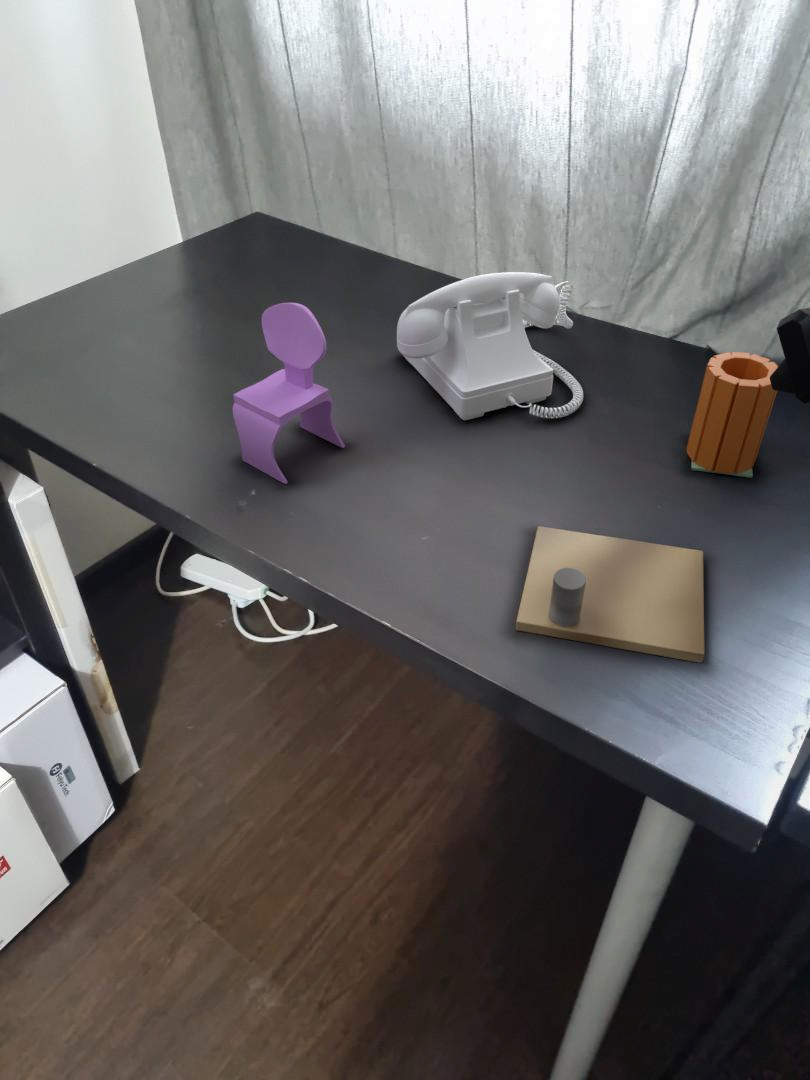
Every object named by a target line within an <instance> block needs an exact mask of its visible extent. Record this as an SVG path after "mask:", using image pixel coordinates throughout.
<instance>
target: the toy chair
mask: <svg viewBox="0 0 810 1080" xmlns="http://www.w3.org/2000/svg"><path fill="white" fill-rule="evenodd" d="M261 327H262V332H263V336H264V340H265V341H264V342H265V344H266V347H267V350H268V351H269V352H270V353H271V354H272V355H273V356H275V357H276V358H277V359H278V360H280V361H281V362H282V363H283V365H284V368H281V369H280V370H278V371H275V372H274V373H272V374H270V375H268V376H267V377H266V378H263V379H262V380H260V381H258V382H256V383H254V384H252V385H250V386H248V387H245V388H243V389H241V390H239V391H237V392H235V393H233V394H232V397H233V401H234V403H233V405H232V417H233V420H234V423H235V427H236V430H237V433H238V434H237V435H238V437H239V442H240V447H241V459H242V461H243V462H245V463H247V464H248V465H250V466H251V467H254V468H255V469H257V470H259V471H261V472H263V473H264V474H265V475H268V476H269V477H272V478H274V479H275V480H277V481H279V482H281V483H282V484H285V485H286V484H288V483H289V482H288V480H287V478H286V477H285V475H284V474H283V472H282V470H281V469H280V466H279V465H278V463H277V461H276V457H275V452H274V450H275V445H276V442H277V440H278V437H279V434H280V432H281V430H282V428H283V427H284V426H285V425H286V424H287V423H289V422H290V421H291V420H293V419H295V418H296V417H297V416H299V415H300V416H299V417H300V418H299V420H300V422H299V423H300V424H299V426H300V428H302V429H303V430H306V431H307V432H309V433H312V434H313V435H315V436H317V437H319V438H321V439H323V440H326V441H327V442H329V443H331V444H333V445H336V446H337V447H339V448H342V449H344V448H345V447H346V445H345V443H344V441H343V440H342V439H341V436H340V435H339V433H338V431H337V429H336V426H335V424H334V421H333V416H332V415H333V413H332V412H333V403H334V401H333V399H332V398H331V397H330V390H329V389H328V388H326V387H325V386H321V385H320V384H317V383H314V366H315V365H317V364H318V363H320V362H321V361H322V360H323V359H324V357H325V356H326V354H327V341H326V337H325V334H324V332H323V330H322V327H321V325H320V324H319V322H318V320H317V318H316V317H315V315H314V314H313V312H312V311H311V310H310V309H309V308H308V307H307V306H305V305H303V304H301V303H298V302H282V303H277V304H274V305H271V306H269V307H267V308H266V309H265V310H264V311H263V313H262V314H261Z"/></svg>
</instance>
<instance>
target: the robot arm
mask: <svg viewBox="0 0 810 1080" xmlns="http://www.w3.org/2000/svg"><path fill="white" fill-rule="evenodd" d="M776 331H777V334H778V339H779V342H780V346H781V349H782V352H783V353H782V354H783V356H784V359H783V360H782V361H781V363H780V364H779V365H777V366H778V367H777V369H776V370H775V371H774V372H773V374H772V375H771V376H770V382H771V386H772V389H773V390H777V392H782V393H787V394H793V395H795V398H796V399H797V400H799V401H800V402H801V403H802V404H805V405H806V404H810V306H808V307H804V308H799V309H797V310H795V311H794V312H791V313H790V314H788V315H786V316H784V317H782V318H781V319H780V320H779V322H778V324H777V326H776Z"/></svg>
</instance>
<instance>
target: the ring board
mask: <svg viewBox="0 0 810 1080" xmlns="http://www.w3.org/2000/svg"><path fill="white" fill-rule="evenodd" d="M528 562H529V563H528V567H527V572H526V576H525V581H524V585H523V590H522V593H521V598H520V604H519V608H518V612H517V616H516V621H515V630H516V631H520V632H524V633H530V634H536V635H541V636H547V637H554V638H559V639H564V640H569V641H576V642H580V643H581V642H582V643H587V644H592V645H598V646H604V647H609V648H615V649H621V650H626V651H631V652H636V653H642V654H648V655H653V656H660V657H665V658H671V659H676V660H682V661H688V662H693V663H699V664H702V663H703V661H704V658H705V653H706V652H705V651H706V650H705V586H704V584H705V583H704V581H705V580H704V579H705V578H704V551H703V550H699V549H693V548H687V547H679V546H673V545H667V544H660V543H653V542H646V541H641V540H633V539H628V538H622V537H621V538H620V537H613V536H608V535H601V534H594V533H587V532H580V531H574V530H568V529H561V528H554V527H547V526H543V525H542V526H540V525H537V526H536V532H535V536H534V541H533V545H532V550H531V554H530V558H529V561H528Z"/></svg>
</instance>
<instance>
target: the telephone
mask: <svg viewBox="0 0 810 1080" xmlns="http://www.w3.org/2000/svg"><path fill="white" fill-rule="evenodd" d="M569 288H570V289H569ZM571 289H574V285H572V284H571V282H569V281H568V280H566V281H562V282H560V283H557V284H555V281H554V277H553V276H552V275H548V274H542V273H536V272H526V271H503V272H492V273H484V274H480V275H479V274H478V275H475V276H471V277H467V278H464V279H460V280H457V281H455V282H452V283H449V284H447V285H445V286H443V287H440V288H437V289H436V290H433V291H432V292H429V293H427V294H425V295H423V296H422V297H420V298H419V299H417V300H416V301H414V302H412V303H411V304H409V305H408V306H407V307H406V308H405V309H404V310H403V311H402V312H401V314H400V315H399V318H398V322H397V325H396V348H397V349H398V352H399V353H400V354H401V355H402V356H403V357H404V358H405V360H406V361H407V362H408V363H409V364H410V365H411V366H412V367H413V368H414V369H415V370H416V371H417V372H418V373H419V374H420V375H421V376H422V378H424V379H425V381H427V383H428V384H429V385H430V386H431V387H432V388H433V389H434V390H435V391H436V392H437V394H439V396H441V398H442V399H443V400H444V401H445V402H446V403H447V405H449V406H450V407H451V408H452V409H453V411H454V412H455V414H456V415H457V416H458V417H459V418H460V419H461V420H463V421H469V420H473V419H477V418H481V417H483V416H484V415H485V413H488V412H491V411H495V410H500V409H503V408H507V407H509V406H512V407H513V406H515V405H516V406H517V407H519V408H522V409H524V408H529V413H528V414H529V415H532V416H535V417H538V418H543V419H560V418H564V417H567V416H570V415H571V414H573V413H574V412H576V411H577V410H578V409H579V408H580V407H581V405H582V403H583V401H584V390H583V387H582V385H581V384H580V383H579V381H578V380H577V379H576V378H575V377H574V376H573V375H572V374H571V373H570V372H569V371H568V370H567V369H565V368H564V367H562V366H561V365H560V364H559V363H557V362H555V360H552V359H550V358H549V357H547V356H545V355H544V354H542V353H540V352H538V351H536V350H534V349H533V348H532V346H531V342H530V340H529V337H528V334H527V332H526V328H529V327H533V326H535V327H537V328H541V329H551V328H552V327H553V326H560V327H563V328H565V329H569V330H570V329H571V328H573V326H574V321H573V320H572V318H570V317H569V316H568V315H567V306H568V301H569V297H570V296H571V293H572V290H571ZM558 291H560V293H559V292H558ZM554 376H556V377H558V379H560V380H561V381H562V382H563V383H564V384H565V385H566V386H567V387H568V388H569V389H570V391H571V393H572V399H571V400H570V401H568V403H566V404H564V405H562V406H557V407H549V408H548V407H544V406H540V405H537V404H535V403H539V402H542V401H545V400H547V397H550V396H551V395H552V391H553V384H554V383H553V382H554ZM522 403H523V404H524V403H525V404H526V405H521V404H522Z"/></svg>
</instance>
